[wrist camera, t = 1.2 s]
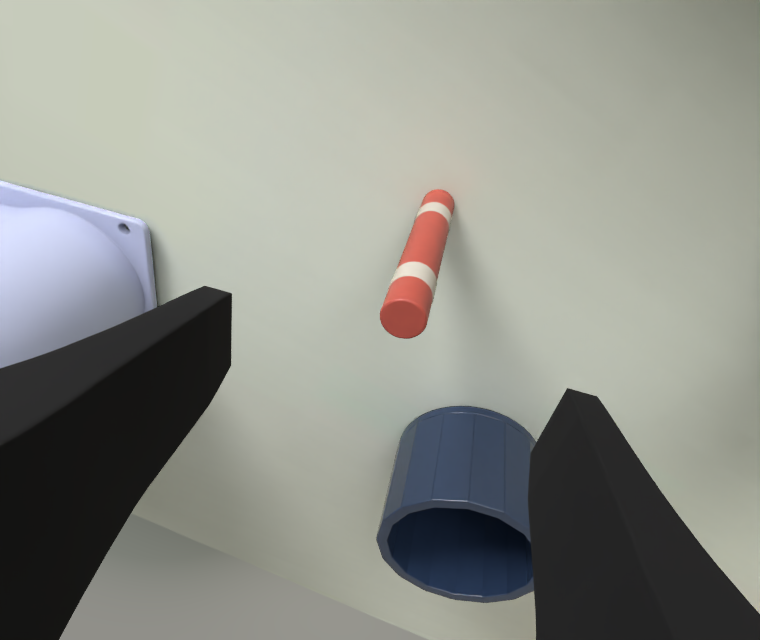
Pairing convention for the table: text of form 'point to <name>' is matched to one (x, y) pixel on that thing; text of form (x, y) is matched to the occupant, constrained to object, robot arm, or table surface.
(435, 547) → the cup
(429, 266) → the baton
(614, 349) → the table surface
